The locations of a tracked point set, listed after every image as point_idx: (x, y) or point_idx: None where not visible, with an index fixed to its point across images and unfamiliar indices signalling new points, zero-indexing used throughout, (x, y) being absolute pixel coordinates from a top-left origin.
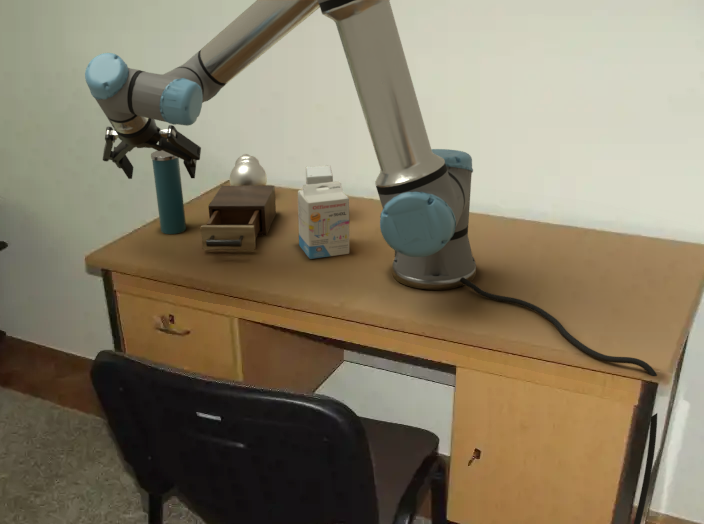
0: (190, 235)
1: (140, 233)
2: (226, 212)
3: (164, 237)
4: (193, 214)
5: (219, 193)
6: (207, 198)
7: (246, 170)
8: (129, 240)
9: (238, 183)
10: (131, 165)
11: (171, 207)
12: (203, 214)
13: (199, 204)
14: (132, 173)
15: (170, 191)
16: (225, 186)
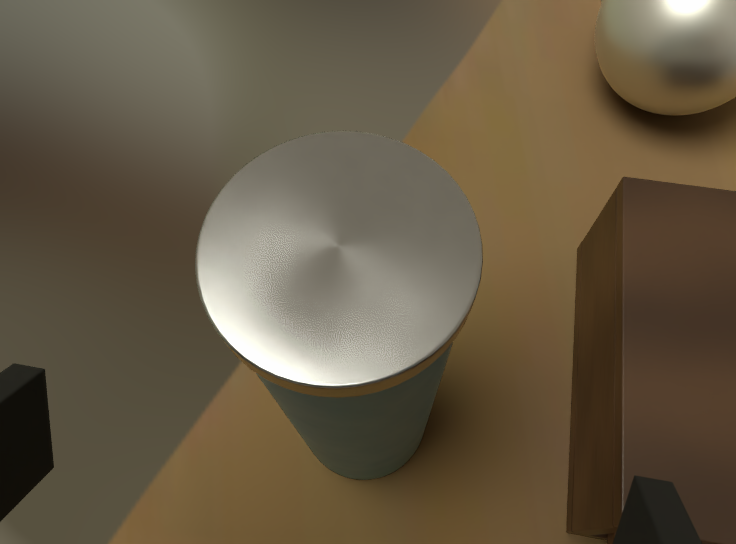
0: (457, 513)
1: (204, 441)
2: None
3: (326, 520)
4: None
5: (641, 298)
6: (475, 72)
7: (728, 24)
8: (149, 535)
9: (659, 79)
10: (6, 409)
11: (370, 459)
12: (483, 241)
13: (450, 129)
14: (46, 427)
15: (374, 442)
16: (648, 191)
